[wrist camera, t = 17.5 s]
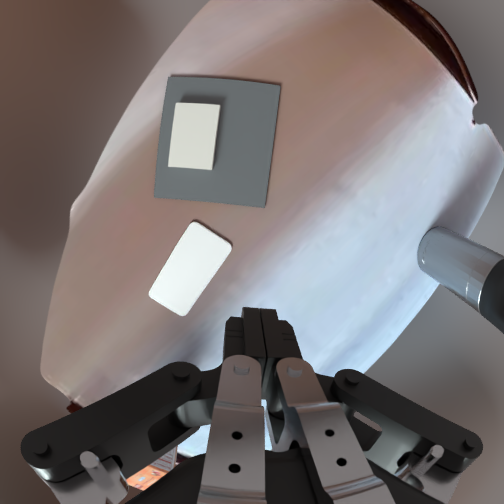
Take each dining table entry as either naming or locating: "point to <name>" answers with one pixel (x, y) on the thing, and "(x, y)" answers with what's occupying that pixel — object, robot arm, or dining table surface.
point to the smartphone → (189, 268)
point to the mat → (222, 142)
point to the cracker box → (154, 471)
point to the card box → (194, 135)
